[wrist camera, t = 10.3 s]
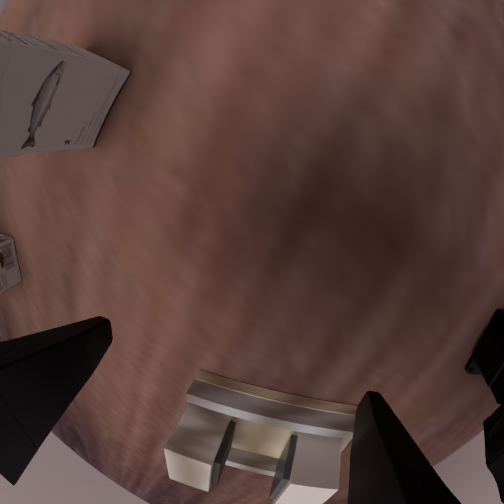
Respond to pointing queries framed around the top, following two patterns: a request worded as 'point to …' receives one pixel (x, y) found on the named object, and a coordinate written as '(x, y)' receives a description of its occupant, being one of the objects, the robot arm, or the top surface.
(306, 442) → the block
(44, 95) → the supplement box
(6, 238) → the coffee box
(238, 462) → the beige clamp block
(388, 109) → the top surface
